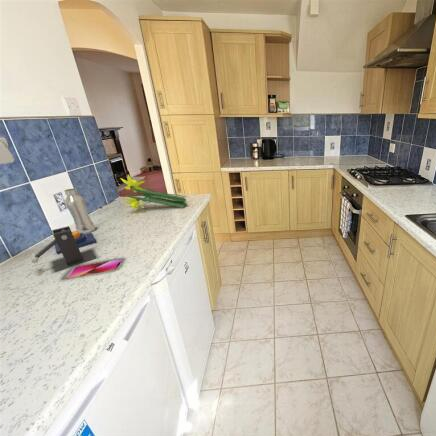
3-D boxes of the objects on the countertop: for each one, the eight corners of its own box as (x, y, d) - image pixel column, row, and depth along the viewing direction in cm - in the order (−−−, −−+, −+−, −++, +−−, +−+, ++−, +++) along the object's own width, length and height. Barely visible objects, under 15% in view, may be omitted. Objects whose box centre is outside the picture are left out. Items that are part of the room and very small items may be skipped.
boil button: (67, 242, 93) (64, 237, 92) (65, 238, 96) (63, 233, 95) (81, 237, 96) (79, 233, 95) (79, 234, 98) (78, 230, 98)
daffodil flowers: (179, 215, 127) (105, 202, 120) (185, 219, 141) (119, 207, 134) (186, 184, 130) (114, 170, 123) (191, 191, 144) (127, 179, 138)
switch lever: (37, 264, 77) (28, 260, 75) (36, 259, 80) (28, 255, 79) (71, 236, 81) (64, 231, 80) (69, 231, 85) (62, 227, 83)
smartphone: (73, 266, 82) (124, 258, 86) (75, 269, 82) (124, 260, 86) (62, 279, 75) (116, 269, 79) (63, 282, 76) (117, 272, 79)
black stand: (56, 274, 80) (39, 240, 74) (54, 264, 85) (38, 231, 80) (97, 260, 87) (84, 228, 82) (92, 251, 92) (80, 221, 87)
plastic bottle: (87, 236, 105) (69, 192, 97) (74, 235, 106) (55, 191, 98) (100, 230, 110) (84, 187, 102) (87, 229, 111) (70, 187, 103)
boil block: (58, 256, 90) (54, 247, 88) (56, 247, 96) (52, 238, 95) (97, 244, 98) (94, 235, 96) (93, 237, 104) (89, 228, 103)
